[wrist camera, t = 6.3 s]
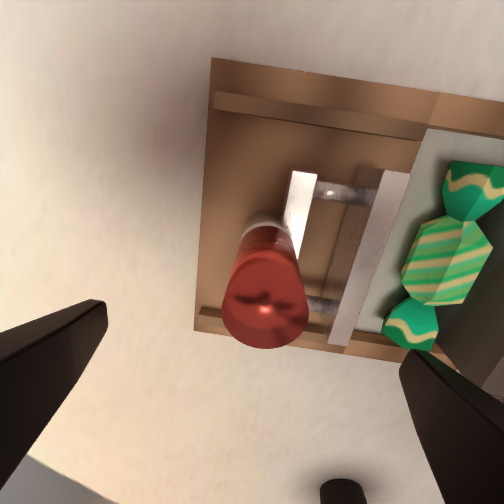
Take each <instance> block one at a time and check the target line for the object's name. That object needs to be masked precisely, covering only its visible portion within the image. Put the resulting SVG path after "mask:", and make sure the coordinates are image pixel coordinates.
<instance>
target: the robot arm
mask: <svg viewBox="0 0 504 504" xmlns="http://www.w3.org/2000/svg"><path fill="white" fill-rule="evenodd" d="M107 328H108V316H107V306H106V303H105V302H104V301H100V300H94V299H89V300H86V301H83V302H81V303H78V304H75V305H73V306H70V307H67V308H65V309H62V310H59V311H57V312H54V313H51V314H49V315H46V316H43V317H41V318H38V319H35V320H33V321H30V322H28V323H25V324H22V325H20V326H17V327H14V328H12V329H9V330H6V331H4V332H1V333H0V490H1V489H2V487H3V486H4V485H5V483H6V482H7V480H8V479H9V478H10V476H11V475H12V473H13V472H14V471H15V469H16V468H17V466H18V465H19V463H20V462H21V461H22V459H23V458H24V456H25V455H26V454H27V452H28V451H29V449H30V448H31V447H32V445H33V444H34V442H35V441H36V439H37V438H38V437H39V435H40V434H41V432H42V431H43V430H44V428H45V427H46V425H47V424H48V423H49V421H50V420H51V418H52V417H53V415H54V414H55V413H56V411H57V410H58V408H59V407H60V406H61V404H62V403H63V401H64V400H65V399H66V397H67V396H68V394H69V393H70V391H71V390H72V389H73V387H74V386H75V384H76V383H77V381H78V380H79V378H80V376H81V375H82V373H83V371H84V370H85V368H86V366H87V364H88V363H89V361H90V359H91V357H92V356H93V354H94V352H95V350H96V349H97V347H98V345H99V344H100V342H101V340H102V338H103V337H104V335H105V333H106V331H107ZM399 377H400V381H401V384H402V387H403V391H404V394H405V397H406V400H407V404H408V407H409V410H410V413H411V417H412V420H413V423H414V426H415V429H416V432H417V435H418V437H419V440H420V443H421V445H422V448H423V450H424V453H425V455H426V458H427V460H428V462H429V465H430V467H431V470H432V472H433V475H434V477H435V480H436V482H437V485H438V487H439V490H440V492H441V494H442V497H443V499H444V502H445V504H504V404H503V403H501V402H500V401H498V400H497V399H495V398H494V397H493V396H491V395H490V394H488V393H487V392H485V391H484V390H482V389H481V388H480V387H478V386H477V385H475V384H474V383H472V382H471V381H470V380H468V379H467V378H465V377H464V376H462V375H461V374H459V373H458V372H457V371H455V370H454V369H452V368H451V367H449V366H448V365H446V364H445V363H444V362H442V361H441V360H439V359H438V358H436V357H435V356H433V355H432V354H431V353H429V352H428V351H425V350H420V349H410V350H409V351H408V352H407V354H406V356H405V358H404V360H403V362H402V364H401V366H400V369H399Z"/></svg>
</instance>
